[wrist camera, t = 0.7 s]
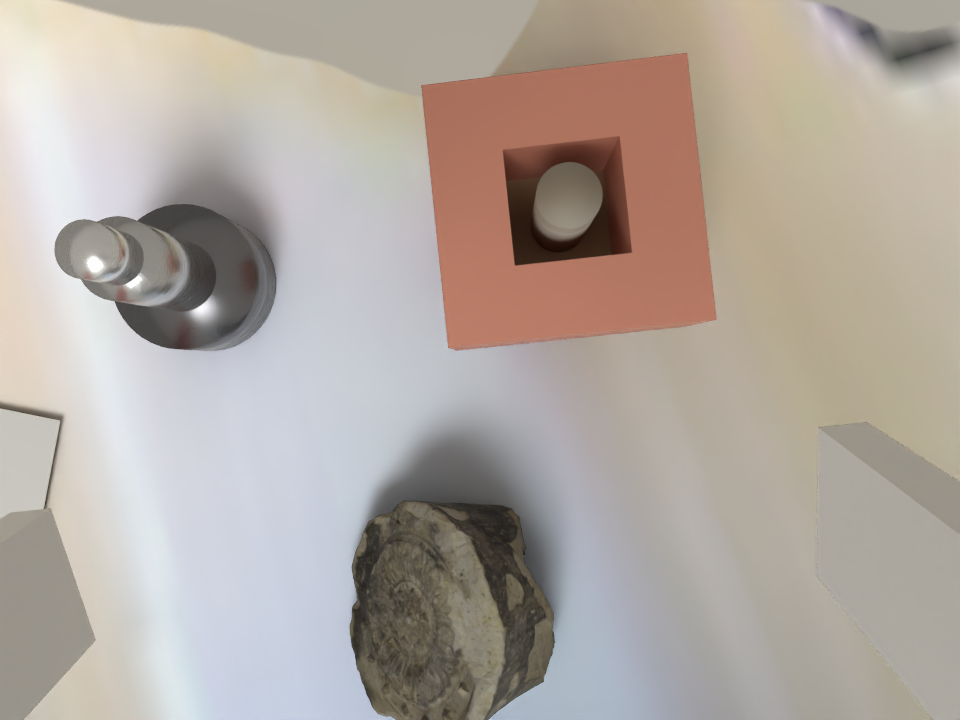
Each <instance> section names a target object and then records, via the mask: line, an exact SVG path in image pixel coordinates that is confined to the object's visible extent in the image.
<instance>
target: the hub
mask: <svg viewBox="0 0 960 720" xmlns="http://www.w3.org/2000/svg"><path fill="white" fill-rule="evenodd" d="M55 257H56V260H57V262H58V264H59V266H60V267H61V269H62V270H63V271H64V272H65V273H67V274H68V275H70V276H72V277H75V278H79V279H81V280H82V282H83V283H84V285H85V286H86V287H87V288H88V289H89V290H90V291H91V292H92V293H94V294H95V295H97V296H99V297H101V298H103V299H107V300H111V301H115V303H116V306H117V308H118V310H119V312H120V314H121V316H122V317H123V319H124V320H125V321H126V323H127V324H128V325H129V326H130V327H131V328H132V329H133V330H134V331H135V332H136V333H137V334H138V335H140V336H141V337H143V338H144V339H146V340H148V341H149V342H151V343H154V344H156V345H159V346H162V347H166V348H172V349H184V350H202V351H217V350H223V349H227V348H231V347H234V346H236V345H238V344H240V343H242V342H244V341H245V340H247V339H248V338H250V337H251V336H252V335H253V334H254V333H256V331H257V330H258V329H259V328H260V327H261V326H262V324H263V323H264V322H265V320H266V319H267V317H268V315H269V313H270V311H271V308H272V305H273V302H274V298H275V291H276V277H275V270H274V267H273V263H272V260H271V258H270V256H269V254H268V252H267V250H266V249H265V247H264V245H263V244H262V243H261V242H260V241H259V239H258V238H257V237H255V236H254V235H253V234H252V233H251V232H249V231H248V230H247V229H245V228H243V227H242V226H240V225H238V224H236V223H234V222H232V221H230V220H228V219H227V218H225V217H223V216H221V215H219V214H217V213H215V212H213V211H212V210H209V209H206V208H204V207H200V206H195V205H187V204H179V205H170V206H165V207H162V208H159V209H156V210H154V211H152V212H150V213H148V214H146V215H145V216H143V217H142V218H140V219H139V220H138V221H136V220H133V219H130V218H127V217H120V216H116V217H108V218H105V219H102V220H100V221H98V222H94V221H91V220H85V219H84V220H77V221H73V222H71V223H69V224H68V225H66V226H65V227H64V228H63V229H62V230H61V232H60V233H59V235H58V237H57V239H56V242H55Z"/></svg>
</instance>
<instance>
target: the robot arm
mask: <svg viewBox="0 0 960 720" xmlns="http://www.w3.org/2000/svg"><path fill="white" fill-rule="evenodd" d="M817 577H818V578H819V580H820V581H821V582H822V583H823V585H824V586H825V587H826V588H827V590H828V591H829V592H830V593H831V595H832V596H833V597H834V598H835V599H836V601H837V602H838V603H839V604H840V606H841V607H842V608H843V609H844V611H845V612H846V613H847V614H848V616H849V617H850V618H851V619H852V620H853V622H854V623H855V624H856V625H857V627H858V628H859V629H860V630H861V632H862V633H863V634H864V635H865V637H866V638H867V639H868V640H869V642H870V643H871V644H872V645H873V646H874V648H875V649H876V650H877V651H878V653H879V654H880V655H881V656H882V658H883V659H884V660H885V661H886V663H887V664H888V665H889V666H890V667H891V669H892V670H893V671H894V672H895V674H896V675H897V676H898V677H899V679H900V680H901V681H902V682H903V684H904V685H905V686H906V687H907V688H908V690H909V691H910V692H911V693H912V695H913V696H914V697H915V698H916V700H917V701H918V702H919V703H920V705H921V706H922V707H923V708H924V709H925V711H926V712H927V713H928V714H929V716H930V717H931V718H932V719H933V720H960V481H958V480H957V479H955V478H953V477H952V476H950V475H949V474H947V473H946V472H944V471H942V470H941V469H939V468H938V467H936V466H935V465H933V464H932V463H930V462H928V461H927V460H925V459H924V458H922V457H921V456H919V455H917V454H916V453H914V452H913V451H911V450H910V449H908V448H907V447H905V446H903V445H902V444H900V443H899V442H897V441H896V440H894V439H892V438H891V437H889V436H888V435H886V434H885V433H883V432H881V431H880V430H878V429H877V428H875V427H874V426H872V425H871V424H869V423H867V422H864V423H854V424H845V425H835V426H826V427H818V463H817ZM95 641H96V639H95V637H94V634H93V631H92V628H91V625H90V622H89V619H88V616H87V613H86V610H85V607H84V604H83V601H82V598H81V595H80V593H79V590H78V587H77V584H76V581H75V578H74V575H73V572H72V569H71V566H70V563H69V560H68V557H67V554H66V551H65V549H64V546H63V543H62V540H61V537H60V534H59V531H58V528H57V525H56V522H55V519H54V516H53V513H52V510H51V508H48V509H39V510H29V511H20V512H10V513H8V514H7V515H5V516H4V517H2V518H1V519H0V720H24V719H25V718H26V717H27V715H28V714H29V713H30V712H31V711H32V710H33V709H34V708H35V707H36V706H37V704H38V703H39V702H40V701H41V700H42V699H43V698H44V697H45V696H46V695H47V693H48V692H49V691H50V690H51V689H52V688H53V687H54V686H55V685H56V684H57V682H58V681H59V680H60V679H61V678H62V677H63V676H64V675H65V674H66V673H67V671H68V670H69V669H70V668H71V667H72V666H73V665H74V664H75V663H76V662H77V660H78V659H79V658H80V657H81V656H82V655H83V654H84V653H85V652H86V651H87V649H88V648H89V647H90V646H91V645H92V644H93V643H94V642H95Z"/></svg>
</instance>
